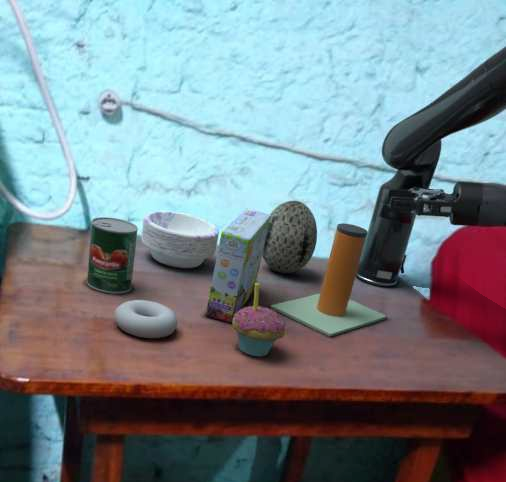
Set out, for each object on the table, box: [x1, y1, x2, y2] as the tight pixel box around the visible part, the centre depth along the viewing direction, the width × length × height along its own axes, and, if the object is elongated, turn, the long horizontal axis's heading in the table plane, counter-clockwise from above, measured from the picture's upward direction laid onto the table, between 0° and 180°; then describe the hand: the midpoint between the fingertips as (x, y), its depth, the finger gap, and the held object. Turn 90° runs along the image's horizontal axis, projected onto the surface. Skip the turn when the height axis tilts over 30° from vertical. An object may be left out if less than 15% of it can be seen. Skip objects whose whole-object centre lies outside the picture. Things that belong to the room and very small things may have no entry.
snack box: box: [204, 207, 271, 324], centre depth 134 cm, size 21×6×15 cm, turn 168°
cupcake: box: [231, 278, 286, 357], centre depth 117 cm, size 9×8×12 cm
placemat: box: [269, 293, 387, 338], centre depth 142 cm, size 20×14×1 cm
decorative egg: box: [262, 200, 318, 274], centre depth 155 cm, size 12×12×15 cm
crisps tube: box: [317, 222, 368, 317], centre depth 138 cm, size 6×6×16 cm
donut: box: [114, 299, 178, 339], centre depth 118 cm, size 10×4×10 cm
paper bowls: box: [140, 210, 220, 269], centre depth 150 cm, size 15×15×8 cm
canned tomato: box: [86, 216, 139, 295], centre depth 129 cm, size 8×8×11 cm
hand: (389, 199), depth 135 cm, fingers open, 8 cm apart
